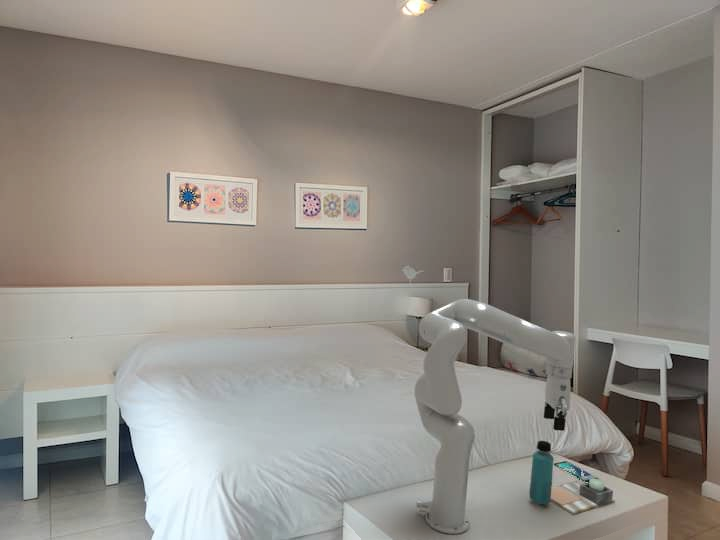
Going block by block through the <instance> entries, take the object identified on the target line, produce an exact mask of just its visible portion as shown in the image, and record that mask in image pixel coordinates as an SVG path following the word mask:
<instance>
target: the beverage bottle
mask: <svg viewBox="0 0 720 540" xmlns="http://www.w3.org/2000/svg"><path fill="white" fill-rule="evenodd" d="M551 444H552V443H550V442H549V441H546V440H538V441H537V445H536V449H537V451H535V452H533V454H532V462H531V463H532V464H531V471H530V472H531V473H530V483H529V499H530V500H531V501H532V502H533V503H536V504H538V505H548V504H550V502H551V499H550V497H551V488H552V486H553V485H552V484H553V468H554V460H555V459H554V458H555V457H554V456H553V455H552V454H551V453H550V452H551V451H552V448H551V447H552V445H551Z"/></svg>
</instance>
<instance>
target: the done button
mask: <svg viewBox="0 0 720 540" xmlns="http://www.w3.org/2000/svg"><path fill="white" fill-rule="evenodd" d="M604 486H605V481H603V480H601V479H599V478H598V479H594V478H592V479H590V482H589V488H590V489H592V490H594V491H596V492H597V493H600V492H603V491H604Z"/></svg>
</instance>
